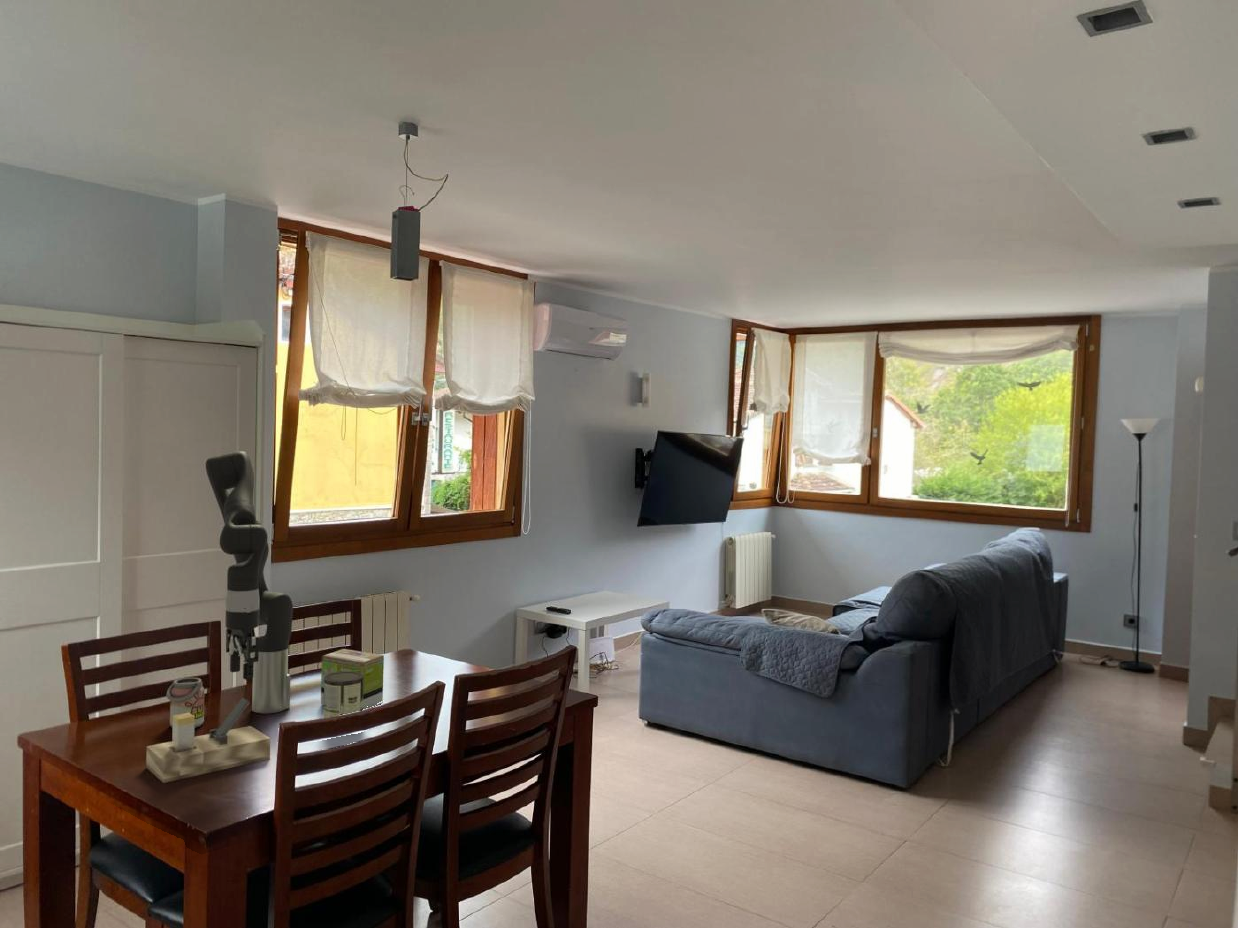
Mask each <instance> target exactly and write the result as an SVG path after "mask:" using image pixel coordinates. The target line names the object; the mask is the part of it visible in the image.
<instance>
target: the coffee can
mask: <svg viewBox="0 0 1238 928" xmlns="http://www.w3.org/2000/svg"><path fill="white" fill-rule="evenodd" d="M363 679H364V675H363V674H362V673H358V672H336V673H331V674H328V675H326V676H325V677H324V705H323V719H324V718H329V717H335V716H339V715H343V714H348V713H352V712H356V711H362V710H363Z"/></svg>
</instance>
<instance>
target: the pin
mask: <svg viewBox="0 0 1238 928" xmlns="http://www.w3.org/2000/svg"><path fill="white" fill-rule="evenodd" d="M194 724H195V716H193V715H192V714H190V713H184V714H179V715H173V728H172V733H171V734H172V736H171V737H172V751H173V752H175V753H178V752H183V751H187V750H192V749H194V737H195V728H194Z"/></svg>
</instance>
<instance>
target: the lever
mask: <svg viewBox="0 0 1238 928" xmlns="http://www.w3.org/2000/svg"><path fill="white" fill-rule="evenodd" d="M250 704H251V702H250V701H249V700H248V699H246V698H244V697H241V699H240V700H239V701H238V703H237V704H236V705H235V706H234V708H233V709H232V710H231V712H230V713H229V715H228V716H227V717H226V718H225V719H224V721H223V722H222V724H220V726H219V728H217V729H218V730H217V731H216V732H214V733H213V734H212V736H213V737H214V738H215V739H217V740H218V741H219V736H224V735H226V734H227V733H228V731H229V730H232V728H233V726H234V725H235V723H236V722H237V721H238V719H239V718H240V717H241V715H242V714H243V713H244V711H245V710H247V709H246V708H248V706H249V705H250Z"/></svg>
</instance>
